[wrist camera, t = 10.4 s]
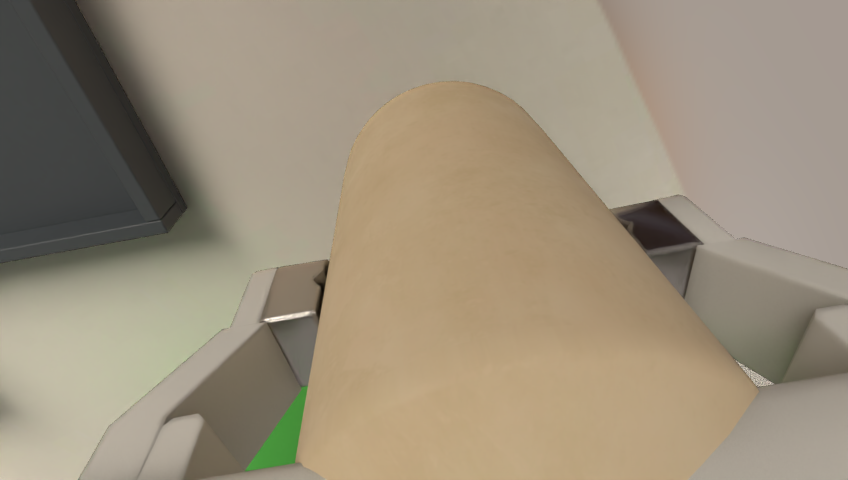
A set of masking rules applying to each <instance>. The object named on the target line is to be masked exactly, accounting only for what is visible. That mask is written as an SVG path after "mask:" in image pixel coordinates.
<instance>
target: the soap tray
mask: <svg viewBox="0 0 848 480" xmlns="http://www.w3.org/2000/svg"><path fill="white" fill-rule="evenodd" d="M186 209H187V206H186V205H185V203H184V201H183V199H182V197H181V195H180V194H179V192H178V190H177V188H176V186H175V184H174V183H173V181H172V179H171V177H170V175H169V173H168V172H167V170H166V168H165V166H164V164H163V162H162V161H161V159H160V157H159V155H158V153H157V151H156V150H155V148H154V146H153V144H152V142H151V140H150V138H149V137H148V135H147V133H146V131H145V129H144V127H143V126H142V124H141V122H140V120H139V118H138V116H137V115H136V113H135V111H134V109H133V107H132V105H131V104H130V102H129V100H128V98H127V96H126V94H125V93H124V91H123V89H122V87H121V85H120V83H119V82H118V80H117V78H116V76H115V74H114V72H113V71H112V69H111V67H110V65H109V63H108V61H107V60H106V58H105V56H104V54H103V52H102V50H101V49H100V47H99V45H98V43H97V41H96V39H95V38H94V36H93V34H92V32H91V30H90V28H89V26H88V25H87V23H86V21H85V19H84V17H83V15H82V14H81V12H80V10H79V8H78V6H77V4H76V3H75V1H74V0H0V263H5V262H10V261H16V260H21V259H27V258H32V257H38V256H43V255H48V254H54V253H59V252H65V251H70V250H76V249H81V248H87V247H92V246H98V245H103V244H109V243H114V242H120V241H125V240H131V239H136V238H141V237H147V236H152V235H158V234H163V233H168V232H169V231H170V229H171V228H172V227H173V225H174V224H175V223H176V222H177V220H178V219H179V218H180V217H181V215H182V214H183V213H184V212H185V210H186Z"/></svg>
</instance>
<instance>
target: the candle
mask: <svg viewBox="0 0 848 480" xmlns="http://www.w3.org/2000/svg"><path fill="white" fill-rule="evenodd" d="M758 393H759V390H758V389H757V386H756V385H755V384H754V383H753V381H752V380H751V379H750V378H749V377H748V375H747V374H746V373H745V372H744V371H743V369H742V368H741V367H740V366H739V365H738V363H737V362H736V361H735V360H734V359H733V357H732V356H731V355H730V354H729V353H728V351H727V350H726V349H725V348H724V347H723V345H722V344H721V343H720V342H719V341H718V339H717V338H716V337H715V336H714V335H713V333H712V332H711V331H710V330H709V329H708V327H707V326H706V325H705V324H704V323H703V321H702V320H701V319H700V318H699V317H698V315H697V314H696V313H695V312H694V311H693V309H692V308H691V307H690V306H689V305H688V303H687V302H686V301H685V300H684V299H683V297H682V296H681V295H680V294H679V293H678V291H677V290H676V289H675V288H674V287H673V285H672V284H671V283H670V282H669V281H668V279H667V278H666V277H665V276H664V275H663V273H662V272H661V271H660V270H659V269H658V267H657V266H656V265H655V264H654V263H653V261H652V260H651V259H650V258H649V257H648V255H647V254H646V253H645V252H644V251H643V249H642V248H641V247H640V246H639V245H638V243H637V242H636V241H635V240H634V239H633V238H632V236H631V235H630V234H629V233H628V232H627V230H626V229H625V228H624V227H623V226H622V224H621V223H620V222H619V221H618V220H617V218H616V217H615V216H614V215H613V214H612V212H611V211H610V210H609V209H608V208H607V206H606V205H605V204H604V203H603V202H602V200H601V199H600V198H599V197H598V196H597V194H596V193H595V192H594V191H593V190H592V188H591V187H590V186H589V185H588V184H587V182H586V181H585V180H584V179H583V178H582V176H581V175H580V174H579V173H578V172H577V170H576V169H575V168H574V167H573V166H572V164H571V163H570V162H569V161H568V160H567V158H566V157H565V156H564V155H563V154H562V152H561V151H560V150H559V149H558V148H557V146H556V145H555V144H554V143H553V142H552V140H551V139H550V138H549V137H548V136H547V134H546V133H545V132H544V131H543V130H542V129H541V127H540V126H539V125H538V124H537V123H536V122H535V121H534V120H533V119H532V118H531V117H530V115H529V114H528V113H527V112H526V111H525V110H524V109H523V108H522V107H521V106H519V105H518V104H517V103H516V102H514V101H513V100H512V99H510V98H508V97H507V96H505V95H503V94H502V93H500V92H497V91H495V90H493V89H490V88H488V87H485V86H482V85H478V84H474V83H469V82H459V81H446V82H436V83H431V84H426V85H422V86H419V87H416V88H413V89H411V90H408V91H406V92H404V93H402V94H400V95H398V96H397V97H395V98H394V99H392V100H390V101H389V102H387V103H386V104H385V105H384V106H383V107H381V108H380V109H379V110H378V111H377V112H376V113H375V114H374V115H373V116H372V117H371V118H370V120H369V121H368V122H367V123H366V125H365V126H364V128H363V129H362V131H361V132H360V133H359V135H358V136H357V138H356V141H355V143H354V145H353V147H352V149H351V152H350V155H349V158H348V161H347V166H346V170H345V175H344V181H343V186H342V192H341V198H340V204H339V210H338V215H337V221H336V227H335V233H334V239H333V244H332V250H331V256H330V262H329V267H328V273H327V279H326V285H325V291H324V296H323V302H322V308H321V314H320V320H319V325H318V331H317V337H316V343H315V349H314V354H313V360H312V366H311V372H310V377H309V383H308V389H307V395H306V401H305V406H304V412H303V418H302V424H301V430H300V436H299V441H298V447H297V453H296V459H295V463H302V465H303V467H305V468H308V469H310V470H312V471H314V472H316V473H317V474H319V475H320V476H322V477H323V478H325V479H327V480H688V479H689V478H690V477H691V476H692V475H693V474H694V472H695V471H696V470H697V469H698V468H699V467H700V466H701V465H702V464H703V463H704V462H705V461H706V460H707V459H708V457H709V456H710V455H711V454H712V453H713V452H714V451H715V450H716V449H717V448H718V446H719V445H720V444H721V443H722V442H723V441H724V440H725V439H726V438H727V437H728V435H729V434H730V433H731V431H732V430H733V428H734V427H735V426H736V424H737V423H738V421H739V420H740V418H741V417H742V415H743V414H744V412H745V411H746V409H747V408H748V407H749V405H750V404H751V402H752V401H753V400H754V398H755V397H756V395H757V394H758Z"/></svg>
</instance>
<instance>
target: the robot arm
mask: <svg viewBox="0 0 848 480" xmlns="http://www.w3.org/2000/svg"><path fill="white" fill-rule="evenodd" d="M609 210H610V211H611V212H612V214H613V215H614V216H615V217H616V218H617V220H618V221H619V222H620V223H621V224H622V226H623V227H624V228H625V229H626V230H627V232H628V233H629V234H630V235H631V236H632V238H633V239H634V240H635V241H636V242H637V243H638V245H639V246H640V247H641V248H642V249H643V251H644V252H645V253H646V254H647V255H648V257H649V258H650V259H651V260H652V261H653V263H654V264H655V265H656V266H657V267H658V269H659V270H660V271H661V272H662V273H663V275H664V276H665V277H666V278H667V279H668V281H669V282H670V283H671V284H672V285H673V287H674V288H675V289H676V290H677V291H678V293H679V294H680V295H681V296H682V297H683V299H684V300H685V301H686V302H687V303H688V305H689V306H690V307H691V308H692V309H693V311H694V312H695V313H696V314H697V315H698V317H699V318H700V319H701V320H702V321H703V323H704V324H705V325H706V326H707V327H708V329H709V330H710V331H711V332H712V333H713V335H714V336H715V337H716V338H717V339H718V341H719V342H720V343H721V344H722V345H723V347H724V348H725V349H726V350H727V351H728V353H729V354H730V355H731V356H732V357H733V359H735V360H736V361H738V362H740V363H741V364H743V365H745V366H746V367H748V368H749V369H751V370H753V371H754V372H756V373H758V374H759V375H761V376H763V377H764V378H766V379H767V380H769V381H771V382H772V383H774V385H768V386H761V387H757V389H758V390H759V393H758V394H757V395H756V397H755V398H754V400H753V401H752V402H751V404H750V405H749V407H748V408H747V409H746V411H745V412H744V414H743V415H742V417H741V418H740V420H739V421H738V423H737V424H736V426H735V427H734V428H733V430H732V431H731V433H730V434H729V435H728V437H727V438H726V439H725V440H724V441H723V442H722V443H721V444H720V445H719V446H718V448H717V449H716V450H715V451H714V452H713V453H712V454H711V455H710V456H709V457H708V459H707V460H706V461H705V462H704V463H703V464H702V465H701V466H700V467H699V468H698V469H697V470H696V471H695V472H694V474H693V475H692V476H691V477H690V478H689V479H688V480H848V269H847V268H843V267H840V266H837V265H833V264H830V263H827V262H823V261H820V260H817V259H813V258H810V257H807V256H804V255H800V254H797V253H794V252H791V251H787V250H784V249H781V248H777V247H774V246H771V245H767V244H764V243H761V242H758V241H754V240H751V239H748V238H739V239H735V238H734V237H733V236H732V235H730V234H729V233H728V232H727V231H726V230H724V229H723V228H722V227H721V226H720V225H719V224H717V223H716V222H715V221H714V220H713V219H711V218H710V217H709V216H708V215H707V214H705V213H704V212H703V211H702V210H701V209H699V208H698V207H697V206H696V205H695V204H694V203H693V202H691V201H690V200H689V199H688V198H687V197H685V196H681V195H675V196H670V197H666V198H661V199H656V200H653V201H649V202H644V203H639V204H634V205H628V206H623V207H618V208H613V209H609ZM329 262H330V261H328V260H321V261H314V262H308V263H302V264H295V265H289V266H283V267H280V268H278V267H276V268H271V269H265V270H260V271H256V272H254V273H253V274H252V275H251V277H250V280H249V282H248V284H247V287H246V289H245V292H244V294H243V297H242V299H241V302H240V304H239V307H238V309H237V312H236V314H235V317H234V319H233V321H232V324H231V326H230V328H227V329H222V330H221V331H220V332H219V333H217V334H216V335H215V336H214V337H213V338H212V339H210V340H209V341H208V342H207V343H206V344H205V345H203V346H202V347H201V348H200V349H199V350H198V351H196V352H195V353H194V354H193V355H192V356H190V357H189V358H188V359H187V360H186V361H185V362H183V363H182V364H181V365H180V366H179V367H178V368H176V369H175V370H174V371H173V372H172V373H171V374H169V375H168V376H167V377H166V378H165V379H164V380H162V381H161V382H160V383H159V384H158V385H156V386H155V387H154V388H153V389H152V390H151V391H149V392H148V393H147V394H146V395H145V396H144V397H142V398H141V399H140V400H139V401H138V402H137V403H135V404H134V405H133V406H132V407H131V408H130V409H128V410H127V411H126V412H125V413H124V414H122V415H121V416H120V417H119V418H118V419H117V420H115V421H114V422H113V423H112V424H111V425H110V426H108V428H107V430H106V432H105V433H104V435H103V437H102V439H101V440H100V442H99V444H98V446H97V447H96V449H95V451H94V453H93V454H92V456H91V458H90V460H89V461H88V463H87V465H86V467H85V468H84V470H83V472H82V474H81V475H80V477H79V479H78V480H327V479H325V478H323V477H322V476H320V475H319V474H317V473H316V472H314V471H312V470H310V469H308V468H305V467H303V465H302V463H293V464H287V465H281V466H275V467H269V468H263V469H257V470H251V471H245V470H246V468H247V467H248V466H249V464H250V463H251V461H252V460H253V458H254V457H255V456H256V454H257V453H258V451H259V450H260V448H261V447H262V446H263V444H264V443H265V441H266V440H267V438H268V437H269V436H270V434H271V433H272V431H273V430H274V428H275V427H276V426H277V424H278V423H279V421H280V420H281V418H282V417H283V416H284V414H285V413H286V411H287V410H288V408H289V407H290V406H291V404H292V403H293V401H294V400H295V398H296V397H297V396H298V394H299V393H300V391H301V390H302V389H301V387H305V386H308V383H309V377H310V372H311V366H312V360H313V354H314V349H315V343H316V337H317V331H318V325H319V320H320V314H321V308H322V302H323V296H324V291H325V285H326V279H327V273H328V267H329Z"/></svg>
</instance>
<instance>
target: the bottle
mask: <svg viewBox="0 0 848 480" xmlns="http://www.w3.org/2000/svg"><path fill="white" fill-rule="evenodd" d="M301 389H302V390H301V391H300V393H299V394H298V396H297V397H296V398H295V400H294V401H293V403H292V404H291V406H290V407H289V408H288V410H287V411H286V413H285V414H284V416H283V417H282V418H281V420H280V421H279V423H278V424H277V426H276V427H275V428H274V430H273V431H272V433H271V434H270V436H269V437H268V438H267V440H266V441H265V443H264V444H263V446H262V447H261V448H260V450H259V451H258V453H257V454H256V456H255V457H254V458H253V460H252V461H251V463H250V464H249V466H248V467H247V468H246V470H245V471H251V470H257V469H263V468H269V467H275V466H281V465H287V464H293V463H295V459H296V453H297V447H298V441H299V436H300V430H301V424H302V418H303V412H304V406H305V401H306V395H307V389H308V386H305V387H301Z"/></svg>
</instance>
